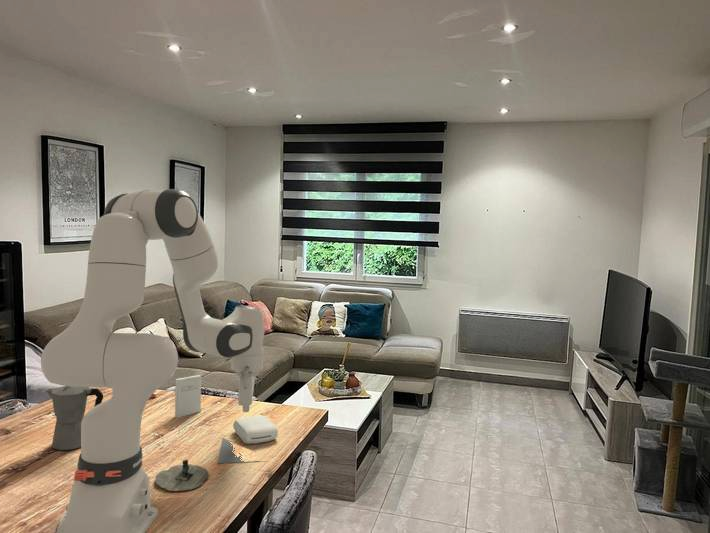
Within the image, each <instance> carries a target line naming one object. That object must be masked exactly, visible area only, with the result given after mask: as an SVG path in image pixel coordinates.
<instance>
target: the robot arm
mask: <svg viewBox="0 0 710 533" xmlns="http://www.w3.org/2000/svg"><path fill="white" fill-rule="evenodd" d="M198 211H199V210H198V207H197V205H196V202H195V201H194V199H193V198H192V197H191V195H190V194H188V193H187V192H186V191H184V190H180V189H174V188H168V189H165V190H163V189H162V190H161V189H155V190H154V189H153V190H150V189H144V190H139V191H135V192H130V193H127V192H126V193H122V194H119V195H117V196H115V197H114V196H113V198H111V199H110V200H109V201H108V203H107V204H106V206H105V208H104V213H103V215H102V216H100V217H99V218H98V219H97V220H96V222H95V226H94V228H93V231H92V235H91V239H90V245H89V251H88V258H87V259H88V260H87V261H88V262H87V270H86V271H87V274H86V283H85V289H84V290H85V291H84V296H83V301H82V303H81V306H80V309H79V311H78V313H77V315H76V317H75V318H74V319H73V321H71V323H70V324H69V325H68V327H66V328H65V329H64V330H63V331H62V332H60V333H59V334H58V335H56V336H54V337H53V338H52V339H51V340H50V341H49V342H48V343H47V344H46V345H45V347H44V349H43V351H42V353H41V356H40V368H41V372H42V374H43V375H44V377H45V379H46V380H47V381H48V382H49V383H50V384H55V385H59V386H62V387H63V386H69V387H75V388H78V387H89V388H108V389H111V390H112V396H111V397H112V398H111V397H110V398H109V399H107V400H105V401H102V402H101V403H100V404H98V405H96V406H95V405H94V406H95V407H94V406H93V407H92V408H90V409H89V410H88V411H87V412H85V413H84V417H83V420H82V423H81V447H80V454H79V455H78V462H77V463H76V464H77V466H76V470H75V473H74V477H73V485H72V490H71V493H70V496H69V501H68V504H67V506H65V507H66V509H65V510H66V512H65V513H63V514H62V515H61V518H60V521H59V524H58V527H57V530H56V532H55V533H146V532H147V530H148V529H150V527H151V525H152V524H153V523H154V521H155V520H156V519H157V517H159V510H158V508H156V507H155V506H152V505H151V489H150V476H149V475H148V474H147V473H146V472H145V471H144V469H143V468H142V466H143V448H142V445H141V443H140V442H141V431H142V430H141V429H142V420H143V413H144V410H145V408H146V405H147V403H148V401H149V400H150V399H151V398H150V397H151V395H152V394H155V392H156V391H157V390H158V389H159V388H161V387H162V386H163V385H165V384H166V383H167V382H169V381H170V380H171V378H172V377H173V376H174V374H175V372H176V370H177V367H178V364H179V353H178V350H177V347H176V345H175V344H174V341H172V340H171V338H169V337H166V336H163V335H158V334H154V333H153V334H151V333H147V332H146V333H145V332H141V333H138V332H135V333H134V332H132V333H131V332H113V328H114V325H115V323H116V322H117V320H118V319H120V318H122V317H125V316H127V315H130V314H131V313H133V312H136V311H137V310H138V309H139V308H140V307H141V306H142V304H143V302H144V300H145V290H146V271H147V243H148V242H149V241H155V240H162V242H164V246H165V249H166V252H167V255H168V258H169V261H170V263H171V264H170V265H171V267H172V272H173V275H172V286H173V288H174V293H175V297H176V302H177V304H178V308H179V312H180V316H181V319H182V335H183V342H184V344H185V346H186V347H187V348H188V350H190V351H192V352H194V353H200V354H201V353H202V354H207V355H210V356H214V357H220V358H227V359H230V358H231V359H230V360H231V361H230V364H231V366H230V369H231V370H232V371H234V372H235V376H237V377H239V379H238V396H237V404H238V406H242V412H243V413H249V412H250V406H251V405H252V404H253V398H254V397H253V396H254V387H255V379H256V377H257V376H258V375H259V372H260V371H262V370H263V369H264V351H265V350H264V347H263V342H264V339H265V318H264V314H263V311H262V310H261V309H260V308H258V307H254V306H248V305H241V304H240V305H236V306H235V308H234V310H233V311H232V313H231V314H229V315H228V316H227V317H225V318H223V319H218V318H214V317H211V316H210V315H209V314H208V313H207V312H206V311H205V308H204V303H203V299H202V295H201V291H200V288H201V287H200V285H202V284H204V283H206V282H207V281H209V280H210V279H211V278H213V276H214V275H215V273H216V272H217V269H218V266H219V257H218V254H217V250H216V247H215V244H214V242H213V239H212V237H211V234H210V232H209V229H208V227H207V226H206V223H205V221H204V220H203V217H202V216H201V214H200V213H199V212H198ZM149 398H150V399H149Z"/></svg>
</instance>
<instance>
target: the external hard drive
mask: <svg viewBox="0 0 710 533" xmlns="http://www.w3.org/2000/svg"><path fill="white" fill-rule="evenodd" d="M174 384H175V389H174V390H175V392H174V395H175V396H174V400H175V401H174V403H175V404H174V417H175V418H180V417H181V418H182V417H185V416H188V415H193V414H196V413H201V409H202V407H201V406H202V375H200V374H197V375H196V374H195V375H191V376H185V377H179V378H175V382H174Z"/></svg>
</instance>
